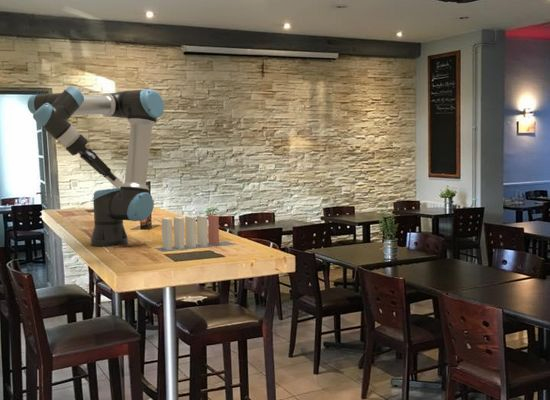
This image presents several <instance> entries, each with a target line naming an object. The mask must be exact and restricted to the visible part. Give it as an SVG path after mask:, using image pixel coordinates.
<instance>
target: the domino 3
mask: <svg viewBox="0 0 550 400" xmlns="http://www.w3.org/2000/svg"><path fill="white" fill-rule="evenodd" d="M184 224H185V245H186V246H188V247H191V248H196V244H197V216H190V215H185V218H184Z"/></svg>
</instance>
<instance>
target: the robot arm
mask: <svg viewBox="0 0 550 400" xmlns="http://www.w3.org/2000/svg"><path fill="white" fill-rule="evenodd" d="M27 108H28V111H29V112H30V113H31V114H32V118H33V119H34V121H35V122H36V123H37V124H38V125H39V126H40V127H41V128H42V129H43V130H45V131H46V132H47V133H48V134H49V135H50V136H51V137H52V138H53V139H55V141H56V142H57V143H56V144H57V145H61V146H62V147H63V148H65V150H66V151H67V152H68V153H69V154H70V155H72V156H75V155H78V154H79V157H80V158H81V159H82V160H84V161H85V162H86V163H87V164H88V165H89V166H90V167H92V169H93V170H95V171H96V172H97V173H98V174H99V175H102V176H103V178H105V179H106V180H107V181H108V182H109V183H110V184H112V186H113V187H115V188H105V189H100V190H99V189H98V190H95V191H94V193H93V200H92V201H93V218H94V219H93V222H94V226H93V230H92V235H91V238H90V245H91V246H95V247H113V246H115V247H116V246H122V245H126V244H128V243H129V238H128V235H127V232H126V229H125V227H124V221H131V222H142V221H146V219H148V218H149V217H150V216H151V214H152V212H153V211H154V205H155V203H154V199H153V196H152V195H151V194H150V188H149V187H148V186H147V180H148V179H147V178H148V170H149V169H148V168H149V159H150V150H151V142H152V132H153V127H154V126H156V125H157V120H158V118H160V117H161V116H162V115H163V113H164V111H165V104H164V100H163V98H162V97H161V95H160V93H159V92H158V91H156V90H154V89H146V88H144V89H136V90H132V89H131V90H123V91H117V92H110V93H109V92H107V93H103V94H102V95H86V94H83V93H82V91H80V89H78V88H77V87H75V86H68V87H66V88H64V90H63V91H62V92H58V93H57V92H56V93H42V94H39V93H38V94H34V95H31V96H30V97H29V98H28V100H27ZM72 115H75V116H76V115H102V116H104V117H106V118H109V117H110V118H119V119H127V122H128V123H129V125H130V130H129V131H130V132H129V138H128V149H127V158H126V159H127V160H126V166H125V167H126V168H125V176H124V182H123V181H122V180H121V179H119V178H118V176H117V175H116V174H114V173H113V172H112V170H111V168H110V167H109V166H108V165H107V164H106V163H105V162H104V161H103V160H102V159H101V158H100V157H99V156H98V155H97V153H96V152H95V151H93V150H92V149H91V148H90V147H89V148H88V147H86V146H87V144H88V139H86V138H85V137H84V136H83V134H81V133H80V132H79V130H77V129H76V127H74V126H73V124H71V123H70V122H69V121H68V120H69V119H70V117H72Z"/></svg>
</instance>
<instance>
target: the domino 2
mask: <svg viewBox="0 0 550 400" xmlns="http://www.w3.org/2000/svg"><path fill="white" fill-rule="evenodd" d="M184 245H185V218H184V217H180V216H174V217H173V246H174V247H176V248H178V249H184Z"/></svg>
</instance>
